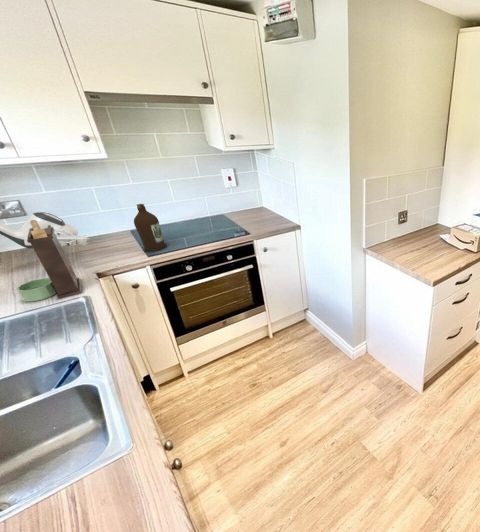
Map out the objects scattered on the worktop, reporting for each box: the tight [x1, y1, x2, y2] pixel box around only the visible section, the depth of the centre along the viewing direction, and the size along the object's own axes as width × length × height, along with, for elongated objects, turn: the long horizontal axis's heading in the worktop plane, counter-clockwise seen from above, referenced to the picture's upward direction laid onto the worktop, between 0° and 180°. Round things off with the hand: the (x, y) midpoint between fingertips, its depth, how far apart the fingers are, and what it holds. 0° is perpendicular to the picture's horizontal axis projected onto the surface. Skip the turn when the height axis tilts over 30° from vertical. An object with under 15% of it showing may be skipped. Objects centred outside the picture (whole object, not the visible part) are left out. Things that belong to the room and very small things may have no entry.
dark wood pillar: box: [27, 225, 82, 300], centre depth 133 cm, size 7×15×27 cm, turn 43°
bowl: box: [16, 277, 58, 302], centre depth 133 cm, size 10×10×6 cm
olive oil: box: [133, 203, 167, 252], centre depth 173 cm, size 11×11×25 cm
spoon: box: [30, 220, 48, 239], centre depth 130 cm, size 4×23×2 cm, turn 50°
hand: (54, 244), depth 144 cm, fingers open, 8 cm apart
